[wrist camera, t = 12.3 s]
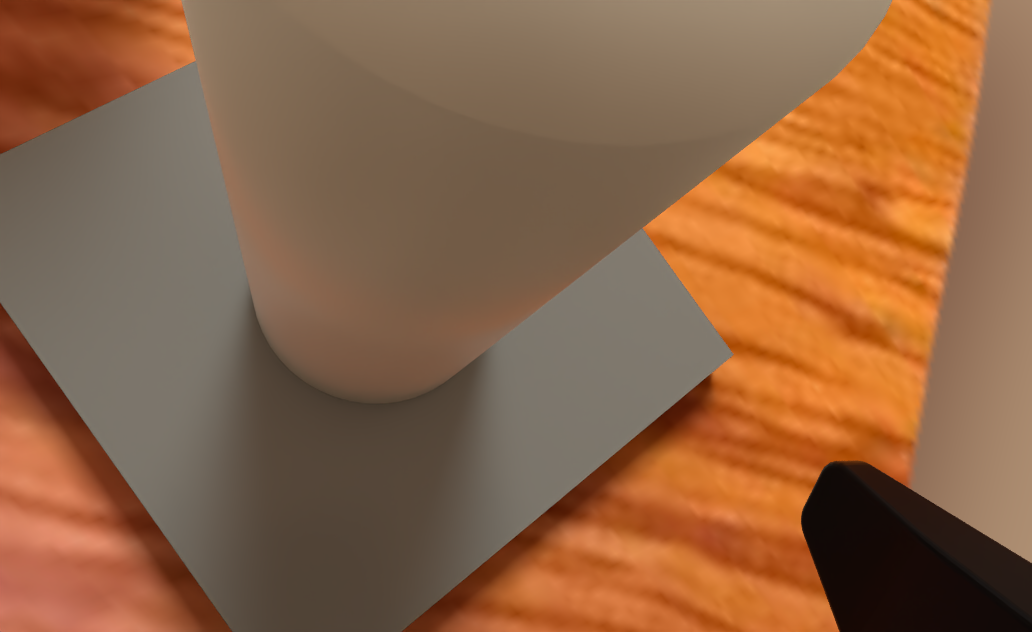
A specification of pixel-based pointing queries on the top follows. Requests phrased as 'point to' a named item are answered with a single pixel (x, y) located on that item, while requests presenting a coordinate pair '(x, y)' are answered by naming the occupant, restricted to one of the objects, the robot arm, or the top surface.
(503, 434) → the slate board
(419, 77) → the cream bottle
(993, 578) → the robot arm
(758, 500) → the top surface
